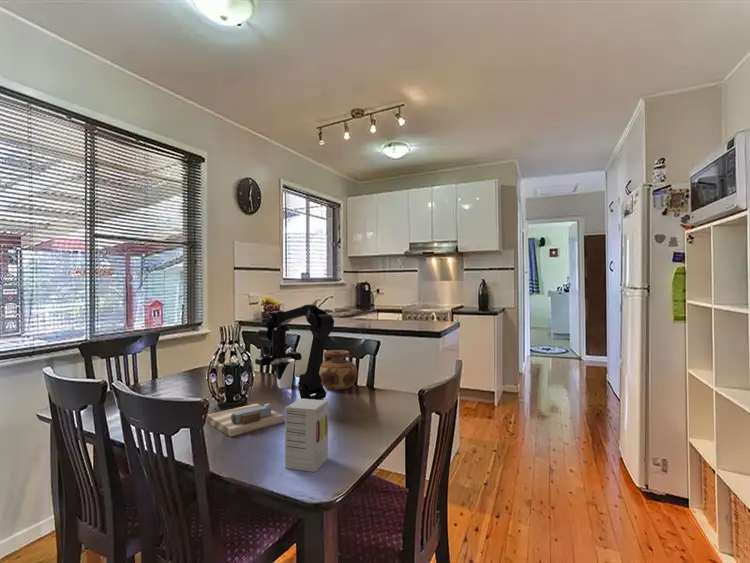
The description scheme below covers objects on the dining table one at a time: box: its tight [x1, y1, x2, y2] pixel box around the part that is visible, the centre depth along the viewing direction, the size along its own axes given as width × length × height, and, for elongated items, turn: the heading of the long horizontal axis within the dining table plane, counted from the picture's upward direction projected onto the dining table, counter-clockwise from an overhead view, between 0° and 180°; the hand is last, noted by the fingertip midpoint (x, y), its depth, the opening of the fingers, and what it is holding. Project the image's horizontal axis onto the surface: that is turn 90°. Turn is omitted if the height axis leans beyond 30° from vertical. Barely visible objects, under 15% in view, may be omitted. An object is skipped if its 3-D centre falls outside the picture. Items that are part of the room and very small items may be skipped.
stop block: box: [241, 411, 260, 425], centre depth 138 cm, size 2×6×3 cm, turn 134°
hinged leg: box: [231, 402, 272, 423], centre depth 141 cm, size 14×3×4 cm, turn 132°
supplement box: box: [284, 397, 329, 473], centre depth 112 cm, size 10×9×17 cm
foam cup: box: [276, 358, 296, 389], centre depth 195 cm, size 10×9×13 cm
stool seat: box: [206, 402, 284, 437], centre depth 146 cm, size 20×20×2 cm
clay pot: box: [319, 349, 358, 391], centre depth 192 cm, size 19×19×20 cm
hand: (279, 379), depth 165 cm, fingers closed
